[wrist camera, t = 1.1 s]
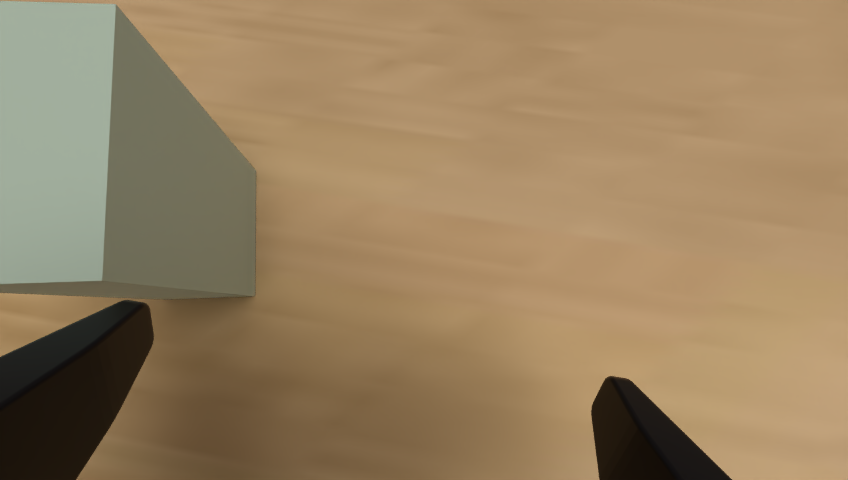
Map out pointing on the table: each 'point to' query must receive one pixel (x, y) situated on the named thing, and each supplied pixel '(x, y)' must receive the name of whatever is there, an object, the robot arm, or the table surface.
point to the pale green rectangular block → (113, 166)
